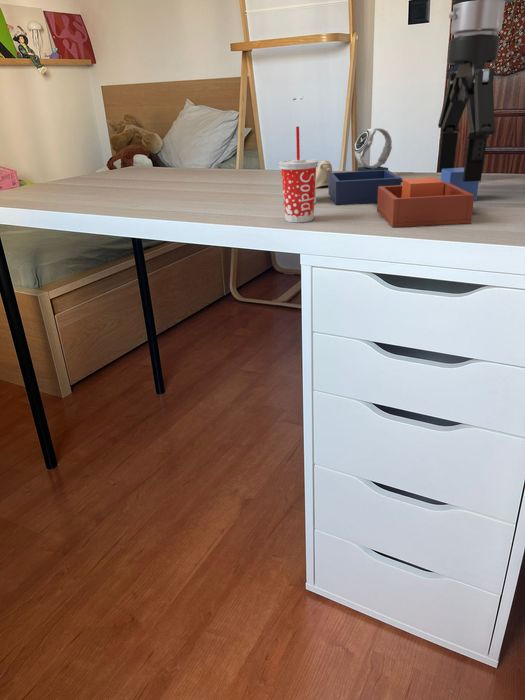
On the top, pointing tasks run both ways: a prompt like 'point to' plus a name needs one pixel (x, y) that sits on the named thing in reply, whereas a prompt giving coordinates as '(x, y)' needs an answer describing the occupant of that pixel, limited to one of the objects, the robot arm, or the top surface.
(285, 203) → the beverage cup
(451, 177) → the slate blue block
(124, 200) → the top surface
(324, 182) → the decorative ornament
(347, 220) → the top surface
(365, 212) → the top surface
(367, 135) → the watch
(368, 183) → the navy bin
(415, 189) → the terracotta block
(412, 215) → the rust bin
